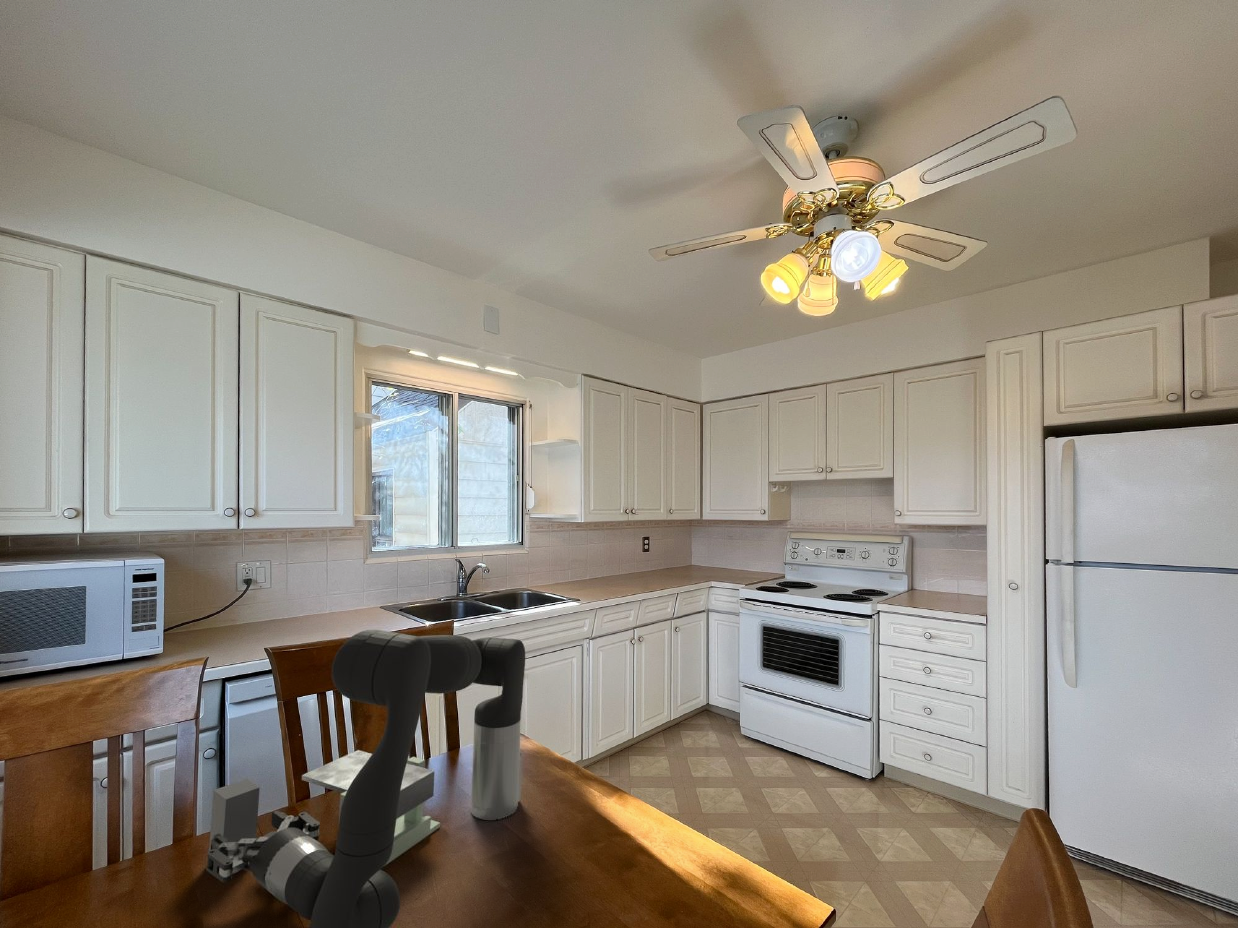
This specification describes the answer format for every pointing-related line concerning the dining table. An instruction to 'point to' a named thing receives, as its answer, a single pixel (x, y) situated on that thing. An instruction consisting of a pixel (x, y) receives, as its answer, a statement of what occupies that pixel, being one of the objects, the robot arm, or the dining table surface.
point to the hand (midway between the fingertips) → (245, 828)
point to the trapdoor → (345, 769)
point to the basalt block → (235, 812)
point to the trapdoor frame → (408, 823)
